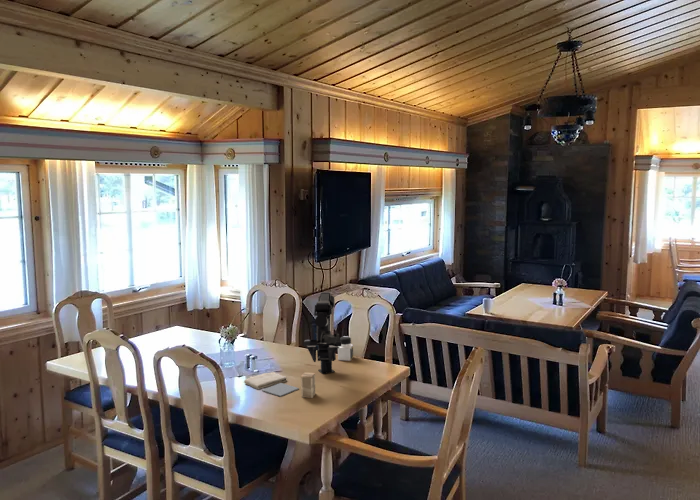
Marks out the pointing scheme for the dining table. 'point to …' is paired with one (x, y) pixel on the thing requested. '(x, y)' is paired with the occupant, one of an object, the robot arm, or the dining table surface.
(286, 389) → the mat
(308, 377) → the beige tall block
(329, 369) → the robot arm
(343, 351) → the medicine bottle
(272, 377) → the washcloth
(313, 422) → the dining table surface
